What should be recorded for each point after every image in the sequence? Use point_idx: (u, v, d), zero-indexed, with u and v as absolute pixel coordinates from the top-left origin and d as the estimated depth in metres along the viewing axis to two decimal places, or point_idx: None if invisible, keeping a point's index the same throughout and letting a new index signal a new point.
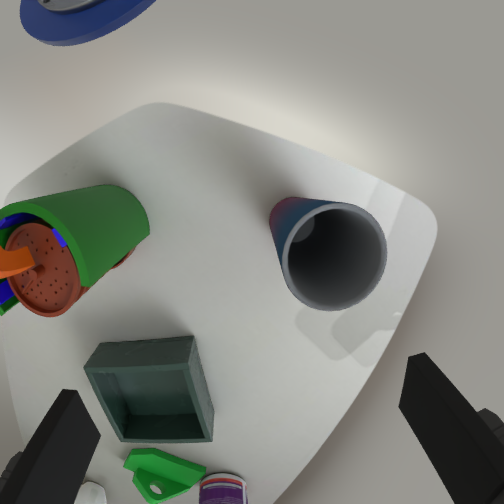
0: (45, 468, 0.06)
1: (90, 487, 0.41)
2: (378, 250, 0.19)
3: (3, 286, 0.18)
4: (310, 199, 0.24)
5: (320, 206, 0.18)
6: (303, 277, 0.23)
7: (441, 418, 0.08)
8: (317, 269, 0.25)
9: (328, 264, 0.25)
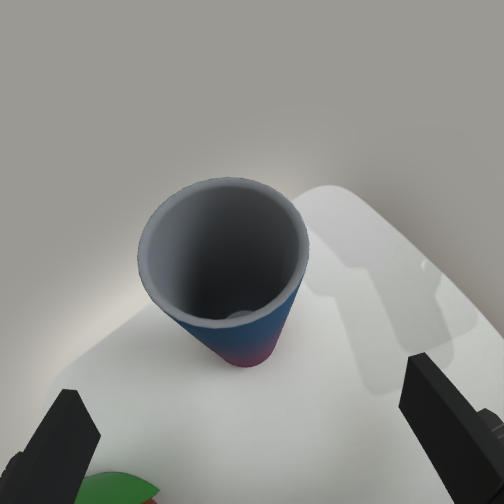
0: (45, 468, 0.06)
1: None
2: (251, 193, 0.14)
3: None
4: None
5: (143, 233, 0.13)
6: None
7: (441, 418, 0.08)
8: None
9: None
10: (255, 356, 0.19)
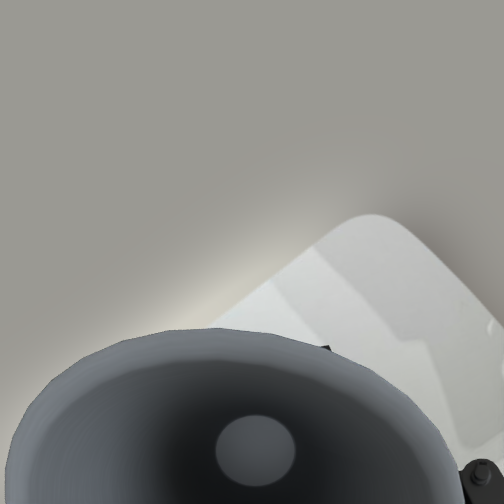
0: None
1: None
2: (304, 380, 0.04)
3: None
4: None
5: (9, 475, 0.03)
6: None
7: None
8: (326, 503, 0.07)
9: (331, 474, 0.08)
10: None
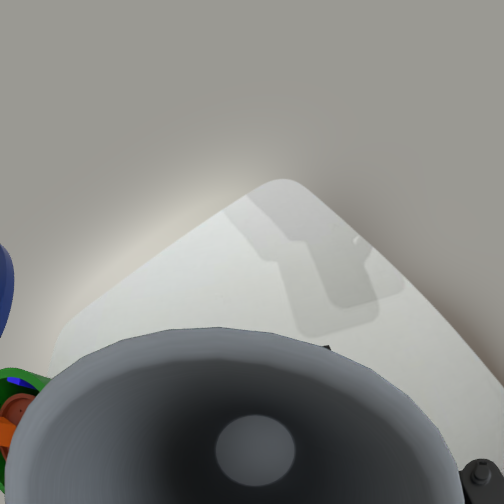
0: None
1: None
2: (304, 379, 0.04)
3: None
4: None
5: (8, 474, 0.03)
6: None
7: None
8: (326, 503, 0.07)
9: (331, 474, 0.08)
10: None
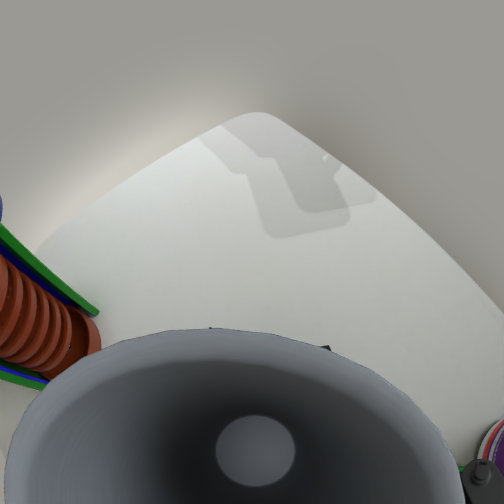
0: None
1: None
2: (304, 380, 0.04)
3: None
4: None
5: (8, 475, 0.03)
6: None
7: None
8: (326, 503, 0.07)
9: (331, 474, 0.08)
10: None
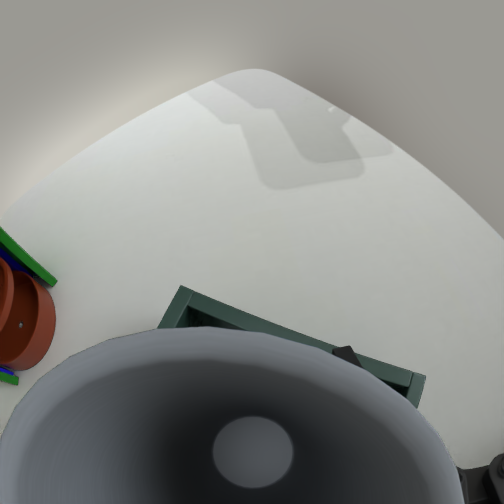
0: None
1: None
2: (297, 381, 0.04)
3: None
4: None
5: None
6: None
7: None
8: None
9: (328, 476, 0.07)
10: None
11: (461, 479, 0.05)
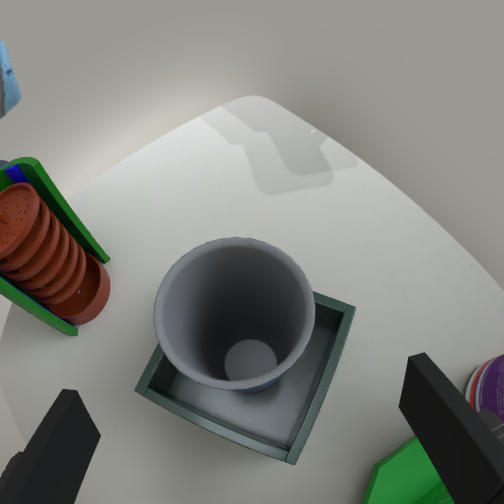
0: (45, 468, 0.06)
1: None
2: (260, 253, 0.15)
3: None
4: None
5: (158, 294, 0.13)
6: None
7: (441, 418, 0.08)
8: (286, 357, 0.18)
9: (288, 340, 0.18)
10: (261, 390, 0.19)
11: None
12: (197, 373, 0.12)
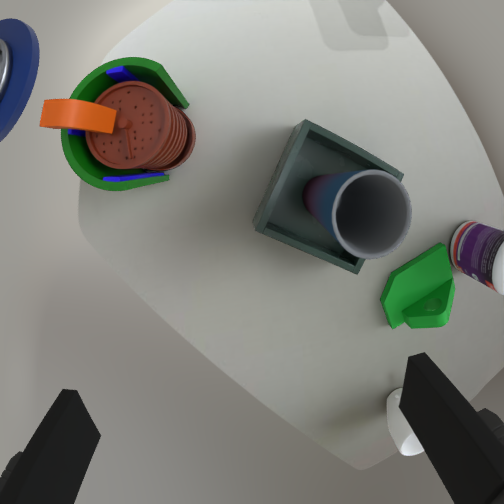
0: (45, 468, 0.06)
1: (393, 398, 0.44)
2: (386, 178, 0.22)
3: (112, 176, 0.22)
4: (319, 189, 0.28)
5: (332, 205, 0.22)
6: (368, 232, 0.27)
7: (441, 418, 0.08)
8: (370, 215, 0.28)
9: (372, 204, 0.28)
10: None
11: None
12: (354, 250, 0.23)
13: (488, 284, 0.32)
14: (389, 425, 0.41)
